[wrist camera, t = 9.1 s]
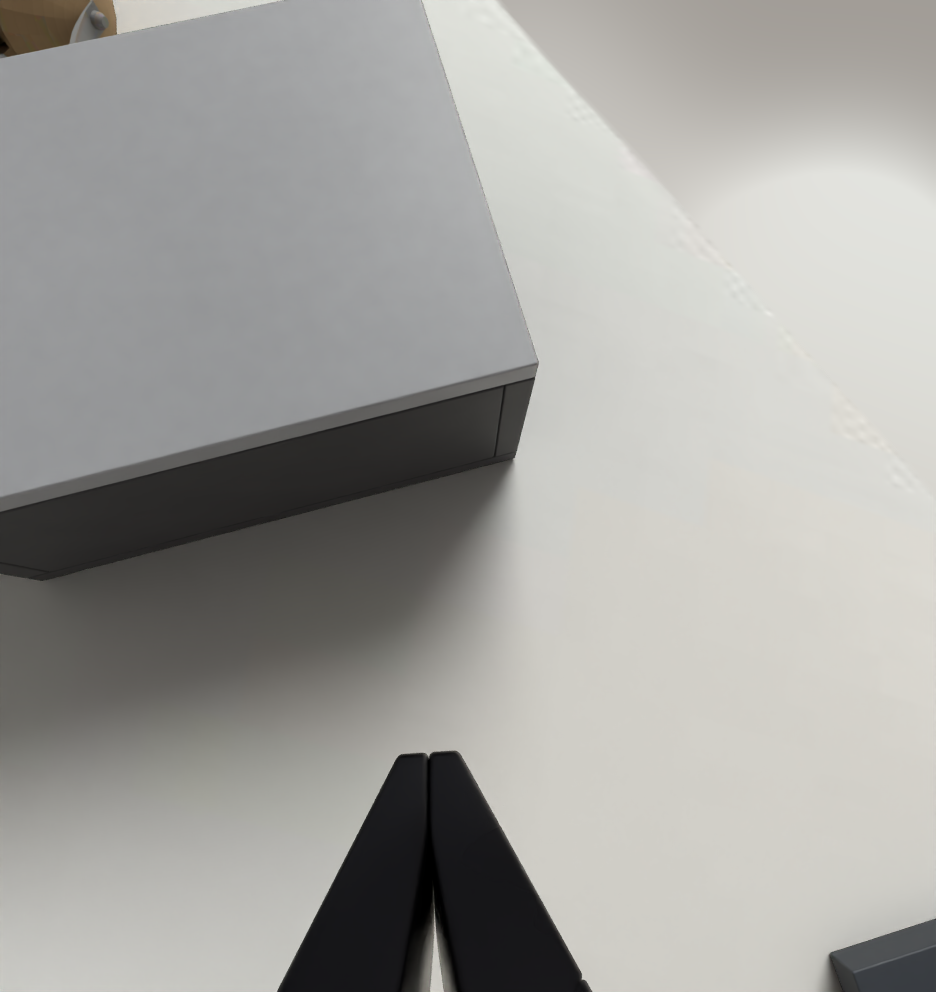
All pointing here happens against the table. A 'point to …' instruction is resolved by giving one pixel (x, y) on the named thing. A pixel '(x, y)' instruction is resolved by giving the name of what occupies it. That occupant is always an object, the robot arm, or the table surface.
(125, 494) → the open storage box
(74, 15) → the alarm clock
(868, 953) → the block
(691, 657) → the table surface
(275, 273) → the lid
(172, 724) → the table surface
